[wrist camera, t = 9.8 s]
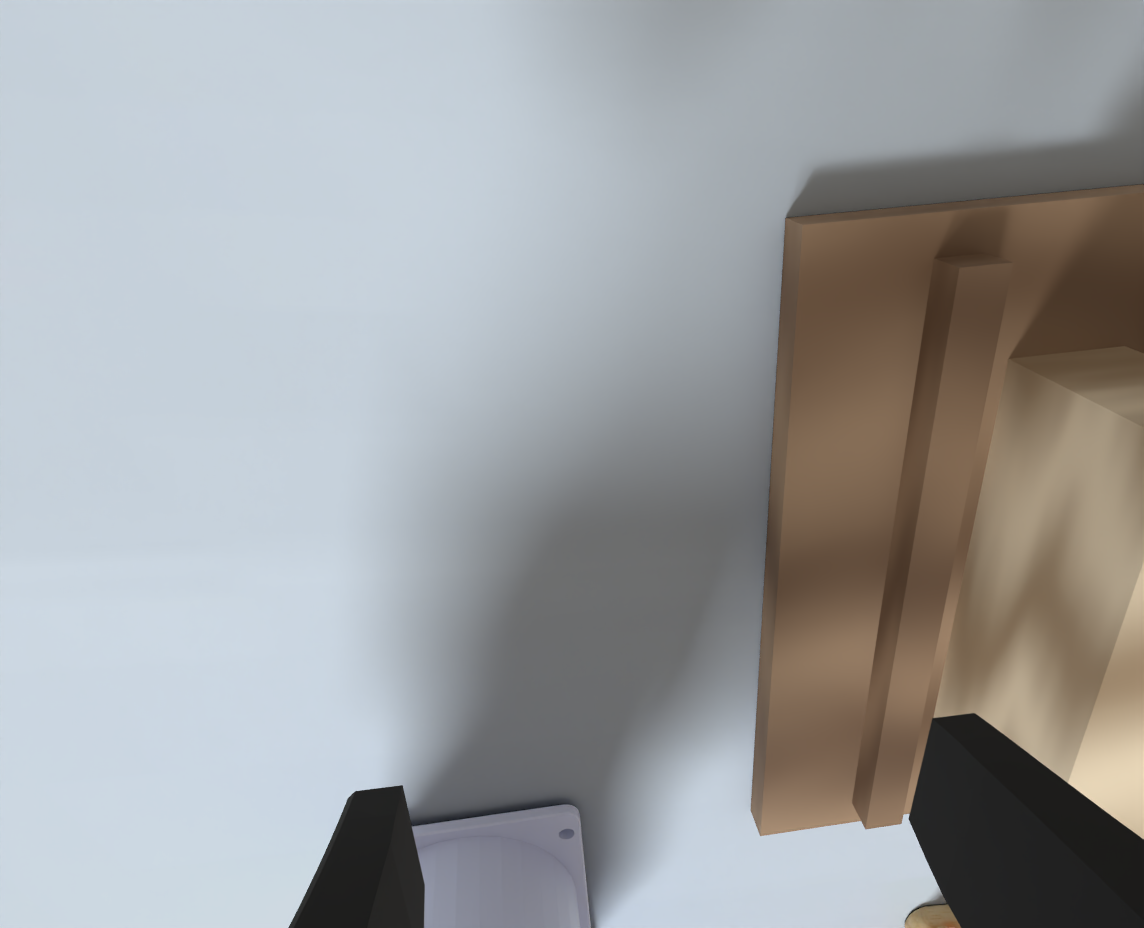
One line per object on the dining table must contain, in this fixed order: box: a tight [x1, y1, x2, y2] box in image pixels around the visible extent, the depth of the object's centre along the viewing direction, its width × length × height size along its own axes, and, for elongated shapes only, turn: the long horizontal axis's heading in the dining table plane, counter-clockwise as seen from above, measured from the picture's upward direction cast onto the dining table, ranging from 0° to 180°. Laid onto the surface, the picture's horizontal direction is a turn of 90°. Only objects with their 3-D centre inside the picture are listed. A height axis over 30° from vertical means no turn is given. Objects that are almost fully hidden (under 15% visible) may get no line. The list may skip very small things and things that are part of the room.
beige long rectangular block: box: [933, 346, 1144, 839], centre depth 19 cm, size 12×3×5 cm, turn 4°
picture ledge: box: [751, 184, 1144, 836], centre depth 21 cm, size 20×14×2 cm
